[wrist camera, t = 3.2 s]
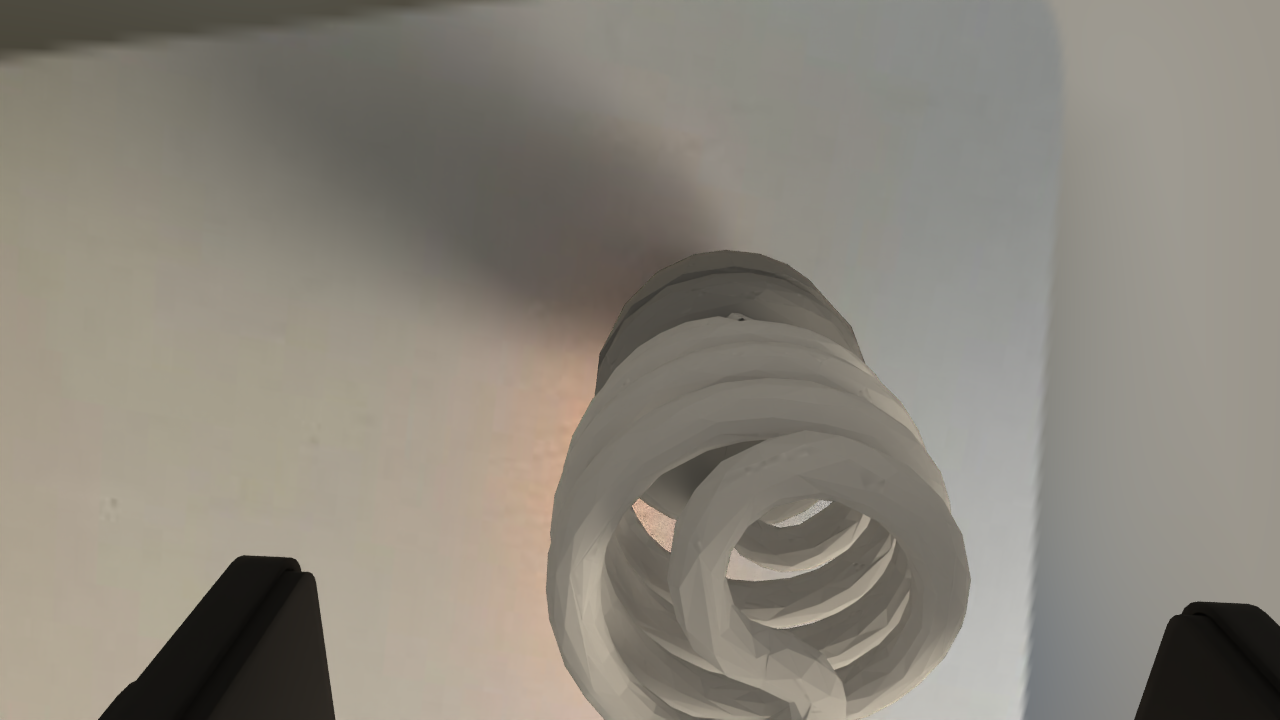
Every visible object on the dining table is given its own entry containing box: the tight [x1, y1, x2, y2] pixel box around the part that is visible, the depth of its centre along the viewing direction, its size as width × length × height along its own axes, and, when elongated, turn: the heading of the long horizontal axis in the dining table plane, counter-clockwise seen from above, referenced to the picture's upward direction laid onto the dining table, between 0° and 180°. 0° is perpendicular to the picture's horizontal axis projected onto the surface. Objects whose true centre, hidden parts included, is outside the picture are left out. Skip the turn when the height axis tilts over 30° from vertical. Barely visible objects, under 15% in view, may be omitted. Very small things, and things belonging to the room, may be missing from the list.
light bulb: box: [546, 250, 971, 720], centre depth 15 cm, size 6×6×12 cm
